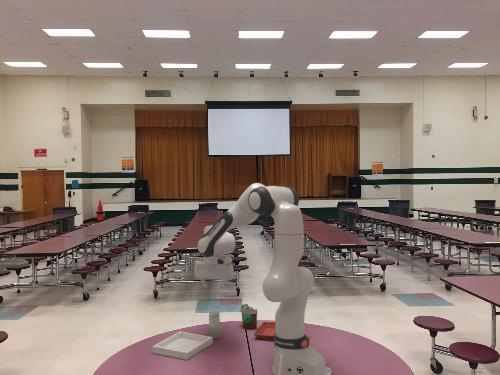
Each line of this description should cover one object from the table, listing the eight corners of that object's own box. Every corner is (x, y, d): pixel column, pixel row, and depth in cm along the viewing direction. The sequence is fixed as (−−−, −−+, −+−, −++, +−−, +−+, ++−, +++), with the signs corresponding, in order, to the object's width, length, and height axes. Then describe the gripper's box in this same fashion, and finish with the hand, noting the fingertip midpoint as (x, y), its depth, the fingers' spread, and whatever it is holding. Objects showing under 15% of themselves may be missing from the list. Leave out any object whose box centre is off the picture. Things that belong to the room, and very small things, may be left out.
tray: (213, 343, 194) (212, 337, 194) (187, 360, 176) (187, 353, 176) (180, 337, 202) (180, 331, 202) (152, 353, 184) (152, 346, 184)
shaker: (221, 335, 204) (221, 311, 204) (216, 339, 200) (215, 314, 200) (212, 334, 207) (212, 310, 206) (207, 337, 202) (206, 312, 202)
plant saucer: (253, 340, 198) (253, 333, 198) (263, 327, 215) (263, 321, 215) (292, 344, 193) (292, 336, 193) (299, 330, 210) (299, 324, 210)
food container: (236, 324, 220) (236, 305, 220) (247, 322, 223) (247, 303, 223) (246, 331, 209) (246, 311, 209) (257, 329, 211) (257, 309, 211)
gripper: (191, 258, 205) (191, 287, 205) (228, 261, 195) (229, 291, 196) (198, 256, 210) (198, 284, 210) (235, 259, 201) (235, 288, 201)
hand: (213, 288), depth 203 cm, fingers open, 8 cm apart
